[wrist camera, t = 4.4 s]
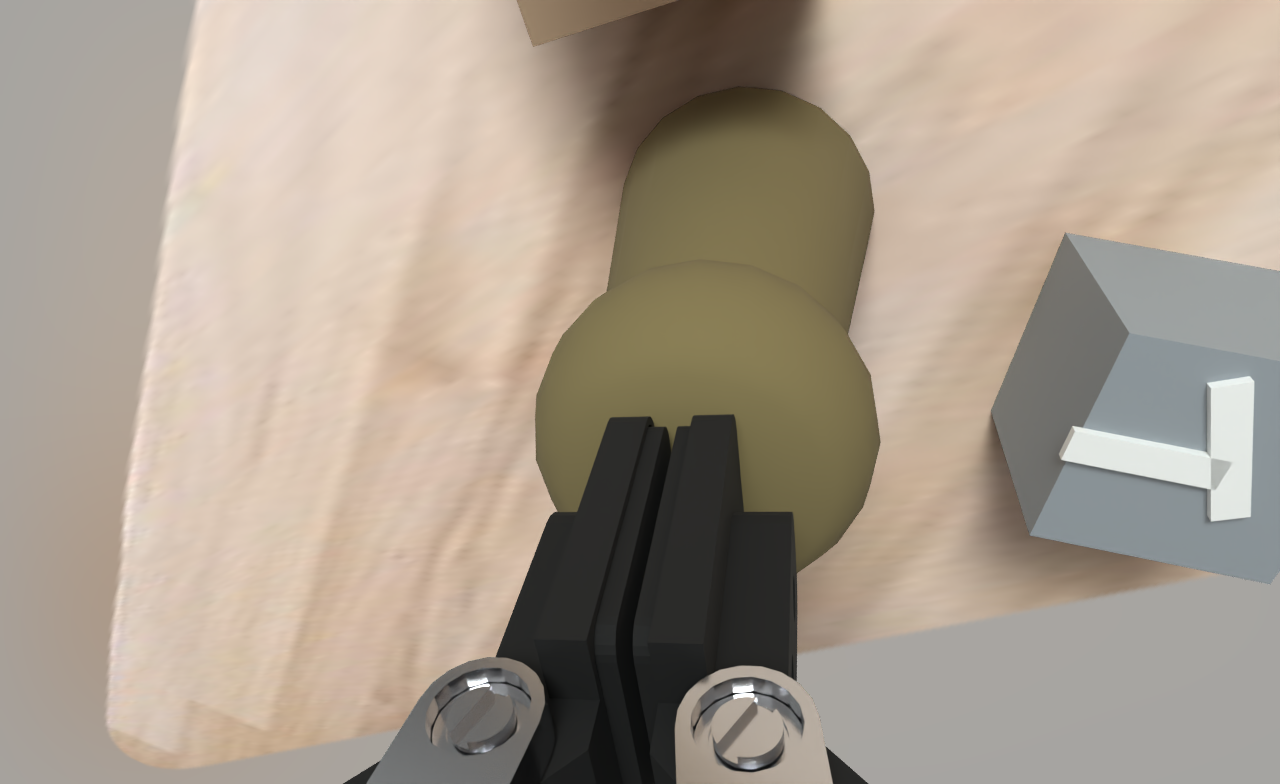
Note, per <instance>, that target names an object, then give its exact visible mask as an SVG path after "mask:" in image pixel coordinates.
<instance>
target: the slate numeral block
mask: <svg viewBox="0 0 1280 784" xmlns="http://www.w3.org/2000/svg"><path fill="white" fill-rule="evenodd" d="M991 413H992V416H993V419H994V422H995V426H996V429H997V432H998V435H999V438H1000V442H1001V445H1002V448H1003V451H1004V455H1005V458H1006V461H1007V464H1008V467H1009V471H1010V474H1011V477H1012V480H1013V483H1014V487H1015V490H1016V493H1017V496H1018V500H1019V503H1020V506H1021V509H1022V512H1023V516H1024V519H1025V522H1026V525H1027V529H1028V532H1029V535H1030V536H1035V537H1040V538H1045V539H1050V540H1055V541H1060V542H1065V543H1070V544H1075V545H1079V546H1084V547H1089V548H1094V549H1099V550H1104V551H1109V552H1114V553H1119V554H1124V555H1129V556H1133V557H1138V558H1143V559H1148V560H1153V561H1158V562H1163V563H1168V564H1173V565H1178V566H1183V567H1187V568H1192V569H1197V570H1202V571H1207V572H1212V573H1217V574H1222V575H1227V576H1232V577H1237V578H1242V579H1246V580H1251V581H1256V582H1261V583H1267V584H1270V583H1271V582H1272V581H1273V579H1274V578H1275V577H1276V575H1277V574H1278V573H1279V571H1280V271H1276V270H1271V269H1265V268H1259V267H1254V266H1248V265H1243V264H1237V263H1232V262H1226V261H1220V260H1215V259H1209V258H1204V257H1198V256H1192V255H1187V254H1181V253H1176V252H1170V251H1164V250H1159V249H1153V248H1148V247H1142V246H1136V245H1131V244H1125V243H1120V242H1114V241H1109V240H1103V239H1097V238H1092V237H1086V236H1081V235H1075V234H1069V233H1065V235H1064V237H1063V240H1062V242H1061V244H1060V247H1059V249H1058V252H1057V254H1056V256H1055V259H1054V261H1053V263H1052V266H1051V268H1050V271H1049V273H1048V275H1047V278H1046V280H1045V283H1044V285H1043V287H1042V290H1041V292H1040V295H1039V297H1038V299H1037V302H1036V304H1035V307H1034V309H1033V311H1032V314H1031V316H1030V318H1029V321H1028V323H1027V326H1026V328H1025V330H1024V333H1023V335H1022V338H1021V340H1020V342H1019V345H1018V347H1017V350H1016V352H1015V354H1014V357H1013V359H1012V362H1011V364H1010V366H1009V369H1008V371H1007V373H1006V376H1005V378H1004V381H1003V383H1002V385H1001V388H1000V390H999V393H998V395H997V397H996V400H995V402H994V405H993V407H992V409H991Z"/></svg>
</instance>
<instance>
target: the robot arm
mask: <svg viewBox="0 0 1280 784" xmlns="http://www.w3.org/2000/svg"><path fill="white" fill-rule="evenodd" d="M343 784H868V783H867V782H865V780H863V779H862V778H861V777H860V776H859V775H858V774H857V773H855V772H854V771H853V770H852V769H851V768H850V767H848V766H847V765H846V764H845V763H844V762H843V761H842V760H841V759H839V758H838V757H837V756H836V755H835V754H834V753H832V752H831V751H830V750H829V749H828V748H827V747H826V746H825V741H824V737H823V731H822V726H821V721H820V716H819V714H818V711H817V709H816V706H815V704H814V701H813V699H812V697H811V696H810V695H809V694H808V693H807V692H806V690H805V689H804V688H803V687H802V686H801V685H800V683H798V682H797V572H796V549H795V531H794V517H793V512H744V506H743V495H742V484H741V472H740V461H739V450H738V439H737V428H736V420H735V416H734V414H724V415H694V416H693V417H692V420H691V425H690V426H678V427H677V430H676V434H675V439H674V443H673V448H672V452H671V447H670V439H669V433H668V430H667V427H654V422H653V420H652V418H651V417H650V416H642V417H611V418H610V419H609V421H608V423H607V426H606V429H605V432H604V435H603V437H602V440H601V443H600V446H599V449H598V452H597V455H596V458H595V461H594V464H593V467H592V470H591V473H590V476H589V478H588V481H587V484H586V487H585V490H584V493H583V496H582V499H581V502H580V505H579V508H578V511H577V512H555V513H553V514H552V515H551V516H550V518H549V519H548V521H547V523H546V526H545V529H544V531H543V534H542V536H541V539H540V542H539V544H538V547H537V550H536V552H535V555H534V557H533V560H532V563H531V565H530V568H529V571H528V573H527V576H526V578H525V581H524V584H523V586H522V589H521V592H520V594H519V597H518V599H517V602H516V605H515V607H514V610H513V613H512V615H511V618H510V621H509V623H508V626H507V628H506V631H505V634H504V636H503V639H502V642H501V644H500V647H499V649H498V652H497V655H496V657H487V658H482V659H478V660H473V661H468V662H466V663H464V664H462V665H460V666H457V667H455V668H453V669H451V670H449V671H448V672H446V673H445V674H444V675H442V676H441V677H440V678H438V679H437V680H436V681H434V682H433V683H432V684H431V685H430V687H429V688H428V689H427V690H426V691H425V693H424V694H423V695H422V696H421V697H420V699H419V700H418V702H417V704H416V705H415V707H414V708H413V710H412V711H411V713H410V715H409V716H408V718H407V719H406V721H405V723H404V724H403V726H402V727H401V729H400V731H399V732H398V734H397V736H396V737H395V739H394V740H393V742H392V744H391V745H390V747H389V748H388V750H387V751H386V753H385V755H384V756H383V758H382V759H381V761H379V762H377V763H376V764H374V765H373V766H371V767H369V768H368V769H366V770H365V771H363V772H361V773H360V774H358V775H357V776H355V777H353V778H352V779H350V780H348V781H347V782H345V783H343Z"/></svg>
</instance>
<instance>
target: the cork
mask: <svg viewBox="0 0 1280 784" xmlns="http://www.w3.org/2000/svg"><path fill="white" fill-rule="evenodd" d="M873 215H874V204H873V197H872V190H871V183H870V175H869V171H868V169H867V167H866V165H865V163H864V161H863V159H862V157H861V156H860V154H859V152H858V150H857V148H856V146H855V144H854V142H853V140H852V138H851V136H850V135H849V134H848V133H846V132H845V131H844V130H843V129H842V128H841V127H840V126H839V125H838V124H837V123H836V122H835V121H834V120H833V119H831V118H830V117H829V116H828V115H827V114H826V113H825V112H824V111H823V110H822V109H821V108H819V107H817V106H815V105H812V104H810V103H808V102H806V101H803V100H801V99H799V98H797V97H794V96H792V95H790V94H788V93H785V92H783V91H779V90H768V89H757V88H746V87H736V88H732V89H728V90H723V91H719V92H715V93H711V94H706V95H702V96H698V97H696V98H695V99H693V100H691V101H690V102H688V103H687V104H685V105H683V106H682V107H680V108H678V109H677V110H675V111H674V112H672V113H670V114H669V115H667V116H665V117H664V118H663V119H662V120H661V121H660V122H659V123H658V125H657V126H656V127H655V128H654V129H653V131H652V132H651V133H650V134H649V135H648V137H647V138H646V139H645V140H644V141H643V143H642V144H641V145H640V146H639V147H638V149H637V152H636V154H635V157H634V159H633V162H632V165H631V167H630V170H629V172H628V175H627V178H626V180H625V183H624V187H623V194H622V200H621V206H620V212H619V218H618V225H617V231H616V237H615V243H614V250H613V256H612V262H611V268H610V274H609V281H608V287H607V292H606V293H604V294H603V295H601V296H600V297H598V298H597V299H595V300H594V301H593V302H592V303H591V304H590V305H589V307H588V308H587V309H586V310H585V311H584V312H583V313H582V314H581V315H580V317H579V318H578V319H577V320H576V321H575V322H574V323H573V324H572V325H571V326H570V328H569V329H568V330H567V331H566V332H565V333H564V334H563V335H562V337H561V339H560V341H559V343H558V345H557V346H556V348H555V350H554V352H553V354H552V356H551V359H550V362H549V364H548V367H547V369H546V372H545V375H544V377H543V380H542V383H541V385H540V388H539V391H538V393H537V397H536V414H535V428H536V461H537V464H538V466H539V469H540V471H541V474H542V476H543V479H544V482H545V484H546V487H547V489H548V492H549V494H550V497H551V500H552V502H553V503H554V505H555V507H556V509H557V511H558V512H577V511H578V508H579V505H580V502H581V499H582V496H583V493H584V490H585V487H586V484H587V481H588V478H589V476H590V473H591V470H592V467H593V464H594V461H595V458H596V455H597V452H598V449H599V446H600V443H601V440H602V437H603V435H604V432H605V429H606V426H607V423H608V421H609V419H610V418H611V417H642V416H650V417H651V418H652V420H653V422H654V427H667V430H668V433H669V439H670V447H671V452H672V448H673V443H674V439H675V434H676V430H677V427H678V426H690V425H691V420H692V417H693V416H694V415H724V414H734V416H735V420H736V428H737V439H738V450H739V461H740V472H741V484H742V495H743V506H744V512H793V517H794V531H795V549H796V572H797V573H798V572H799V571H801V570H802V569H803V568H805V567H806V566H808V565H809V564H811V563H812V562H813V561H815V560H816V559H818V558H819V557H820V556H822V555H823V554H824V553H826V552H827V551H828V550H829V549H830V548H832V547H833V546H834V545H835V544H837V543H838V541H839V540H840V539H841V537H842V536H843V534H844V533H845V532H846V530H847V529H848V527H849V526H850V524H851V523H852V522H853V520H854V519H855V517H856V516H857V515H858V513H859V512H860V510H861V509H862V508H863V505H864V502H865V499H866V496H867V493H868V490H869V487H870V484H871V479H872V475H873V471H874V467H875V463H876V459H877V455H878V451H879V446H880V435H879V428H878V420H877V414H876V407H875V401H874V395H873V388H872V382H871V375H870V373H869V371H868V369H867V368H866V366H865V364H864V362H863V361H862V359H861V357H860V356H859V354H858V352H857V350H856V349H855V347H854V345H853V343H852V342H851V340H850V338H849V336H848V331H849V327H850V322H851V318H852V313H853V309H854V304H855V300H856V295H857V290H858V286H859V281H860V277H861V272H862V268H863V263H864V259H865V254H866V249H867V245H868V240H869V235H870V230H871V225H872V220H873Z"/></svg>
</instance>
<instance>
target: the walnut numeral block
mask: <svg viewBox="0 0 1280 784" xmlns="http://www.w3.org/2000/svg"><path fill="white" fill-rule="evenodd" d="M675 1H678V0H517V2H518V5H519V8H520V11H521V14H522V16H523V19H524V22H525V25H526V28H527V31H528V34H529V36H530V39H531V42H532V45H533V47H534V46H537V45H541V44H544V43H547V42H550V41H553V40H556V39H559V38H562V37H565V36H569V35H572V34H575V33H578V32H581V31H584V30H587V29H590V28H594V27H597V26H600V25H603V24H606V23H609V22H612V21H615V20H619V19H622V18H625V17H628V16H631V15H634V14H637V13H640V12H643V11H647V10H650V9H653V8H656V7H659V6H662V5H665V4H668V3H672V2H675Z"/></svg>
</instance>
